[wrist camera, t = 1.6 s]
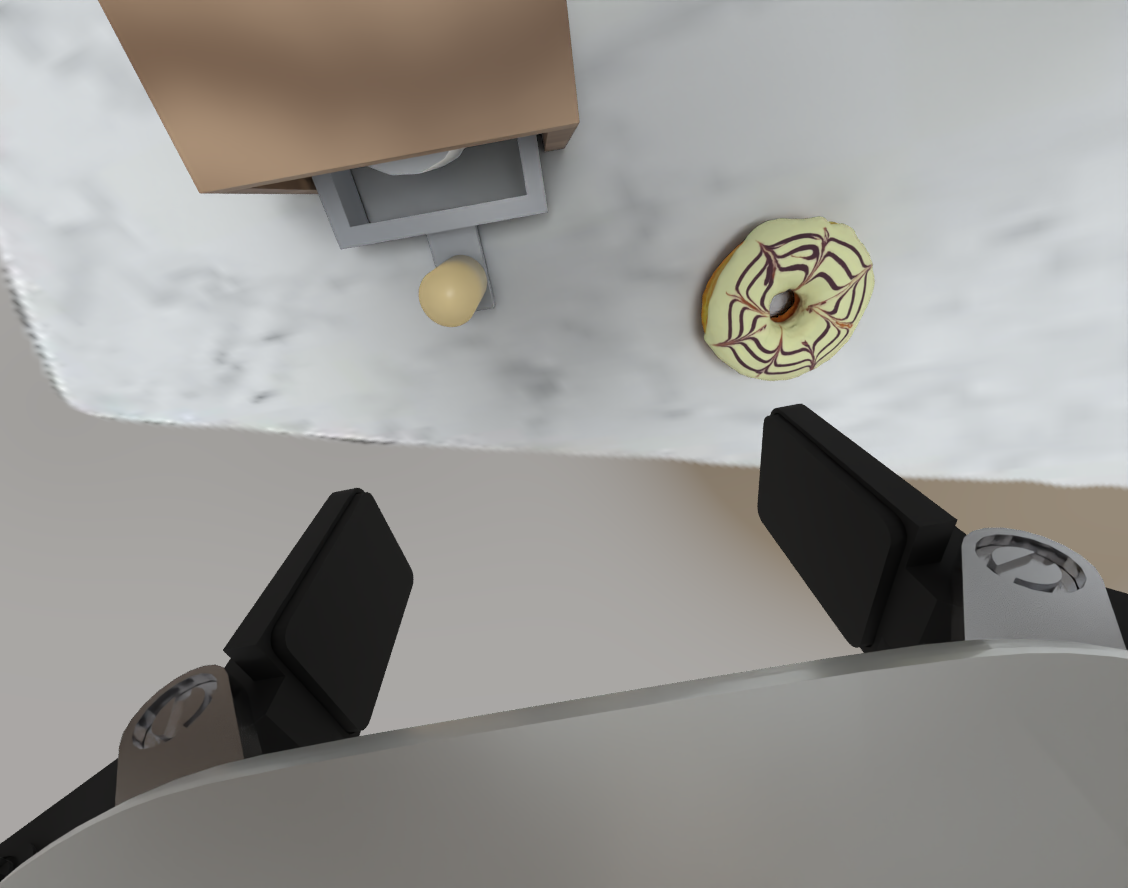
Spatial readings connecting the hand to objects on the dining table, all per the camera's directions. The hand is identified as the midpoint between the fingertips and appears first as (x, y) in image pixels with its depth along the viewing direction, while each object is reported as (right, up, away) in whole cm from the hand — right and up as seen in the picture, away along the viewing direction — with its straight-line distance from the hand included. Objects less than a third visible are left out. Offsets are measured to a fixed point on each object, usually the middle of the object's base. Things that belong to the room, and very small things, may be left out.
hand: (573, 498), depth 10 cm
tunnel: (-8, +20, +13) cm, 26 cm away
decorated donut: (+15, +12, +20) cm, 28 cm away
